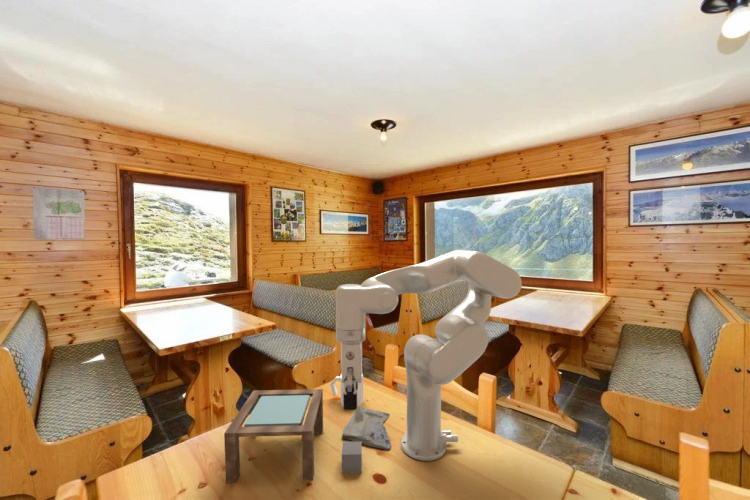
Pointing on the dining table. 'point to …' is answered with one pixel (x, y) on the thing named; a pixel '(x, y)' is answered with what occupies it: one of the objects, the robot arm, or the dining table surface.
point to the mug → (335, 392)
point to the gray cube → (352, 457)
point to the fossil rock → (368, 428)
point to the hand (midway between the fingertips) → (351, 398)
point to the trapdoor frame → (275, 431)
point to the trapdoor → (279, 411)
